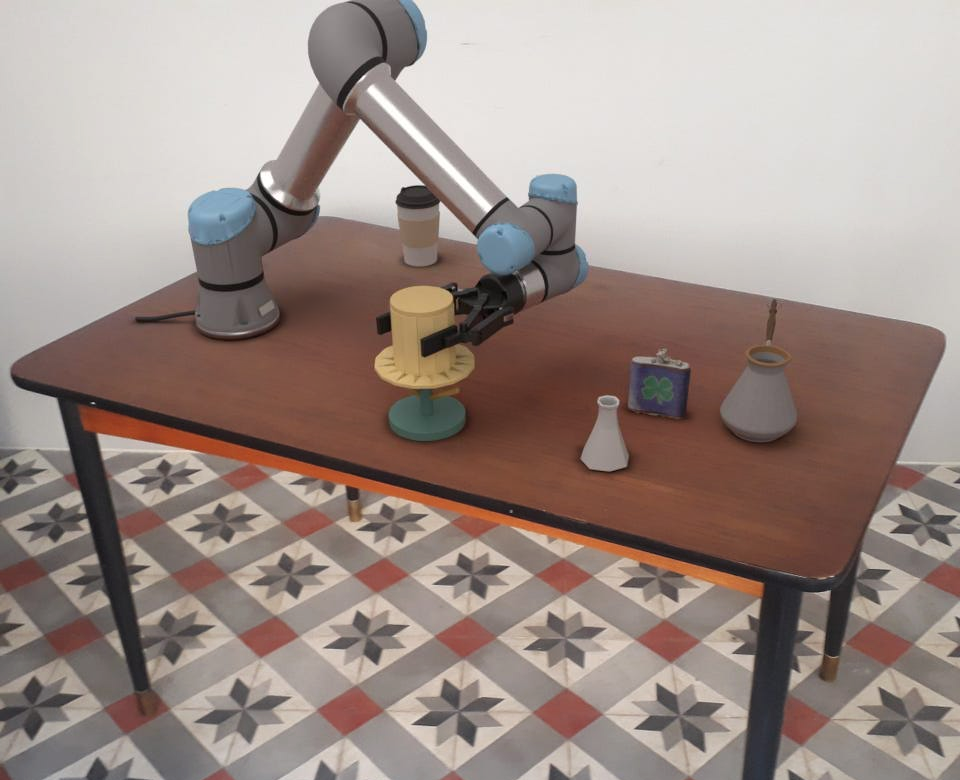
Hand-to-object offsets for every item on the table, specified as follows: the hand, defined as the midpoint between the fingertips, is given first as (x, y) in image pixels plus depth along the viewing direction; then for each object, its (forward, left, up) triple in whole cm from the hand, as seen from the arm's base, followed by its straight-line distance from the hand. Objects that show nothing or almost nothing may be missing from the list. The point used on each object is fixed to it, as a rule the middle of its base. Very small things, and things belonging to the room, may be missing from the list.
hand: (400, 337), depth 152 cm
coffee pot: (+50, +24, -16) cm, 58 cm away
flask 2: (+35, +19, -16) cm, 43 cm away
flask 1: (+31, +3, -16) cm, 35 cm away
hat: (+2, +4, -6) cm, 8 cm away
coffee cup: (-25, +62, -16) cm, 69 cm away
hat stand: (+2, +4, -16) cm, 17 cm away
